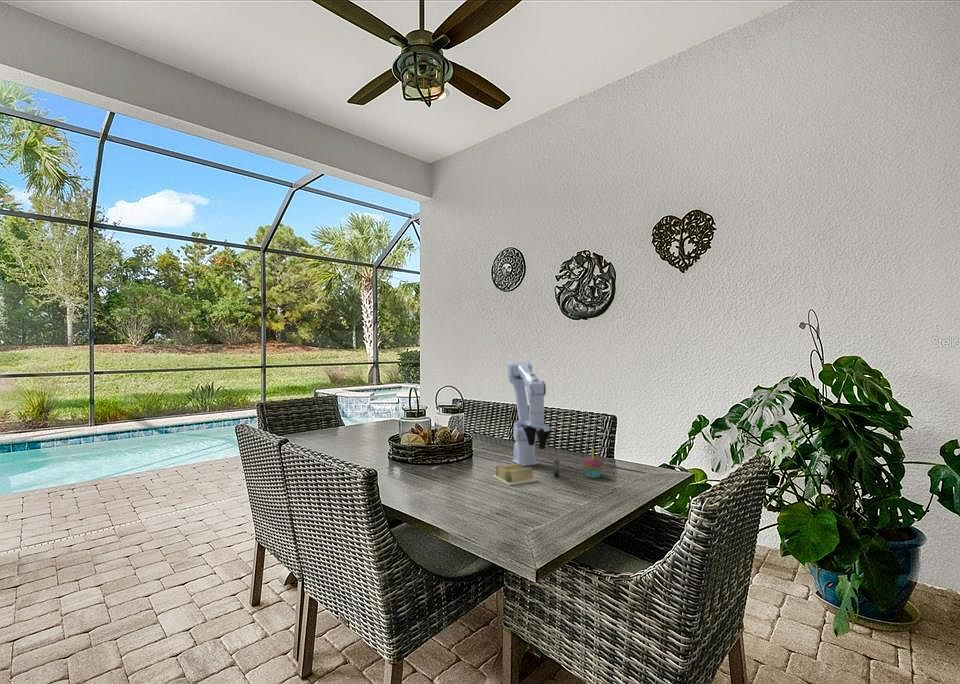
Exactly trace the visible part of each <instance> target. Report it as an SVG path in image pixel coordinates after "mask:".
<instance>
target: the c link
mask: <svg viewBox="0 0 960 684" xmlns="http://www.w3.org/2000/svg"><path fill="white" fill-rule="evenodd" d="M495 475H496V476H497V477H499V478H501V479H502V480H504V481H506V482H512V481H518V480H525V479H531V478H534V469H533V468H532V467H527V468H524V466H523V464H521V463H518V464H517V463H513V464H505V465H499V466H498V465H497V466H495Z"/></svg>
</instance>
